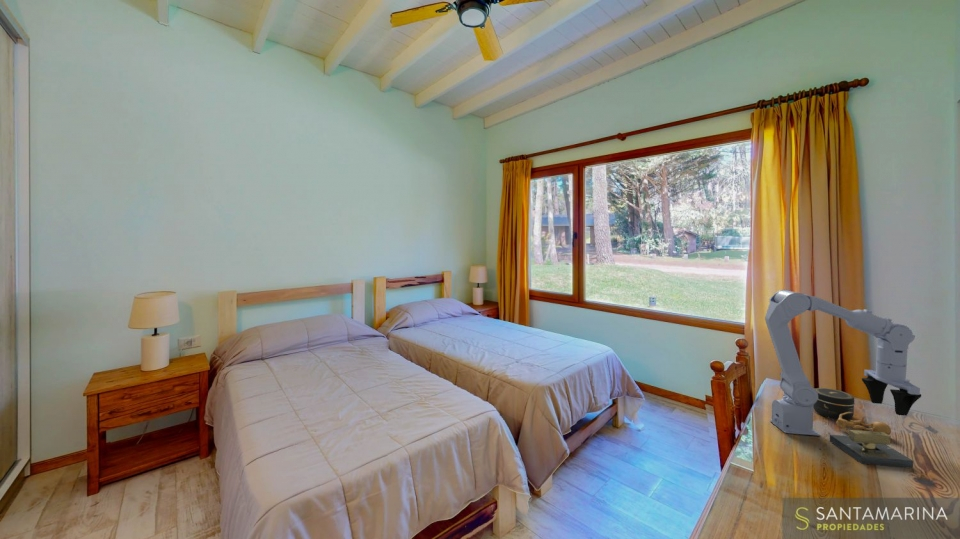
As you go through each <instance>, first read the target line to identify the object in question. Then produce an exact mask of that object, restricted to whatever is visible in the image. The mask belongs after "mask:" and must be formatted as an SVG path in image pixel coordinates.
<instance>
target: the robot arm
mask: <svg viewBox="0 0 960 539" xmlns="http://www.w3.org/2000/svg"><path fill="white" fill-rule="evenodd" d="M768 300H769V301H768V302H769V305H768V308H767V311H766V313H765V316H764V320H765V324H766V327H767V330H768V333H769V336H770V339H771V342H772V345H773V349H774V352H775V355H776V358H777V361H778V363H779V367H780V370H781V371H780V373H779V376H780V381H779V387H780V389H781V391H782V392H783V394H782V397H781V398H780V399H773V401H772V403H771V419H770V420H769V421H770V423H772V424H773V425H774V426H775V427H777V428H778V429H780V430H781V431H782V432H784V433H785V434H793V435H794V434H795V435H807V436H817V437H818V436H819V437H820V436H821V433H820V432H818V431H817V430H816V429H814V407H813V406H814V404H815V403H816V402H817V400H818V393H817V392H816V390H815V389H816V388H814V387H812V385H811V382H810V380H809V378H808V377H807V375H806V374H805V373H804V370H803V367H802V364H801V360H800V359H799V354H798V352H797V349H796V345H795V343H794V339H793V337H792V334H791V330H790V327H789V323H790V322H792V320H793V319H794V318H795V317H797V316H799V315H801V314H802V313H805V312H806V311H809V312H815V311H820V312H823V313H825V314H828V315H831V316H834V317H836V318H838V319H839V318H840V320H841V319H842V320H844V321H845V323H846V325H847V326H848V327H849V328H852V329H855V330H858V331H860V332H862V333H865V334H868V335H870V336H873V337H875V338H876V342H877V343H876V359H875V360H876V361H875V370H873V369H863V370H864V372H863V376H865V377H862V378H861V381H862V382H863V384H864V385H865V387H866V389H867V391H868V395H869V398H870V401H871V403H873V404H878V405H881V404H883V401H884V396H885V391H886V388H888V385H889V386H892V387H894V388H897V389H892V388H891V389H889V391H890V393H891V395H892V397H893V402H894V412H895V414H896V415H897V416H905V417H906V416H908V414H909V412H910V410H911V408H912V406H913V405H914V404H915V403H916V402H917V401H918V400H919V399H921V398H922V394H921V388H920V387H919V386H916V385H915V384H913V383H911V382H910V379H908V378H907V365H908V364H907V363H908V350H909V345H910V344H911V343H912V342H913V341H914V340H915V337H916V335H914V334H913V331H912V329H910V327H908V326H907V325H903V324H901V323H896V322H894V321H893V322H892V319H891V318H888V317H881V316H879V315H876V314H873V311H871V310H869V309H865V308H864V309H854V310H850V309H847V308H845V307H842V306H841V305H838V304H835V303H833V302H830V301H828V300H825V299H823V298H820V297H817V296H813V295H809V294H804V293H802V292H795V291H792V290H789V289H780V290H778V291H776V292H774V294H773V295H772V296H771V297H770V298H769V299H768Z"/></svg>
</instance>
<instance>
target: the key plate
mask: <svg viewBox="0 0 960 539" xmlns="http://www.w3.org/2000/svg"><path fill="white" fill-rule="evenodd" d="M829 442H830V443H832V444H833V445H834V446H836V447H837V448H839V449H840V450H841V451H843V452H845V454H848V455H849V456H850V457H852V458H853V459H854V460H856V461H857V462H859V463H861V464H864V465H865V464H866V465H872V466H873V465H876V466H884V467H885V466H886V467H896V468H898V467H899V468H908V469H914V460H913V459H911V458H910V457H908V456H906V455H904V454H903V453H901V452H899V451H898V450H896V449H894V448H893V447H890V445H883V444H876V446H875V450H867V449H865V448H863V447H862V443H859V442H854V441H852V440H851V439H849V435H841V434H840V435H838V434H829Z"/></svg>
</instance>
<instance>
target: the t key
mask: <svg viewBox="0 0 960 539" xmlns="http://www.w3.org/2000/svg"><path fill="white" fill-rule="evenodd" d="M848 432H849V434H848V436H849V439H851V440H852V441H854V442H859V443H862V447H863V448H865V449H867V450H875V446H876V444H883V445H887V446H891V435H890V434H889V435H888V434H886V433H884V432H874V431H873V430H860V429H848Z"/></svg>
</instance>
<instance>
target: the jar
mask: <svg viewBox="0 0 960 539" xmlns="http://www.w3.org/2000/svg"><path fill="white" fill-rule="evenodd" d="M814 389H815V390H816V392H817V393H818V400H817V402H816V403H815V404H814V406H813V411H814V412H815V413H816V412H817V413H816V414H818V415H820V416H822V417H825V418H827V419H831V420H835V421H837V420H838V418H839V415H840V414H843V413H846V412H853V413H848V414H845V415H842V419H844V420H847V421H850V420H853V417H854V414H855V404H856V403H855V397H854V396H853V395H852V394H850V393H848V392H845V391H841V390H838V389H833V388H827V387H817V388H814Z"/></svg>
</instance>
